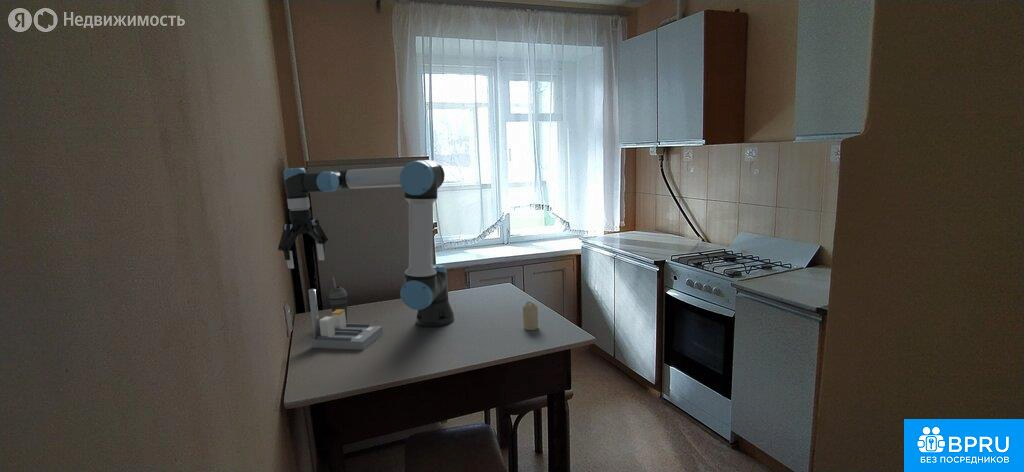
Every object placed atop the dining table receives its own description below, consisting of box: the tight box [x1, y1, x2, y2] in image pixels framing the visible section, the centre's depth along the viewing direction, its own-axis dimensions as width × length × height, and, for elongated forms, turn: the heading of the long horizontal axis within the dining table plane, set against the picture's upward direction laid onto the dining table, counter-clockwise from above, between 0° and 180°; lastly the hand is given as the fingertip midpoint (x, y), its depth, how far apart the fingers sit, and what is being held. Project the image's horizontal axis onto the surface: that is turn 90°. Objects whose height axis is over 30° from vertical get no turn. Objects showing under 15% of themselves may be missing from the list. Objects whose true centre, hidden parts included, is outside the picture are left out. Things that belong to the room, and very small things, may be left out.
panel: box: [311, 322, 384, 351], centre depth 176 cm, size 20×15×4 cm
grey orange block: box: [331, 309, 346, 328], centre depth 181 cm, size 3×4×7 cm
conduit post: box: [308, 288, 321, 339], centre depth 171 cm, size 2×2×18 cm
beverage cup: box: [328, 276, 348, 323], centre depth 193 cm, size 7×7×20 cm
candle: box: [522, 301, 539, 331], centre depth 181 cm, size 6×6×10 cm
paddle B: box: [319, 315, 335, 337], centre depth 173 cm, size 3×4×7 cm
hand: (306, 264), depth 184 cm, fingers open, 13 cm apart
